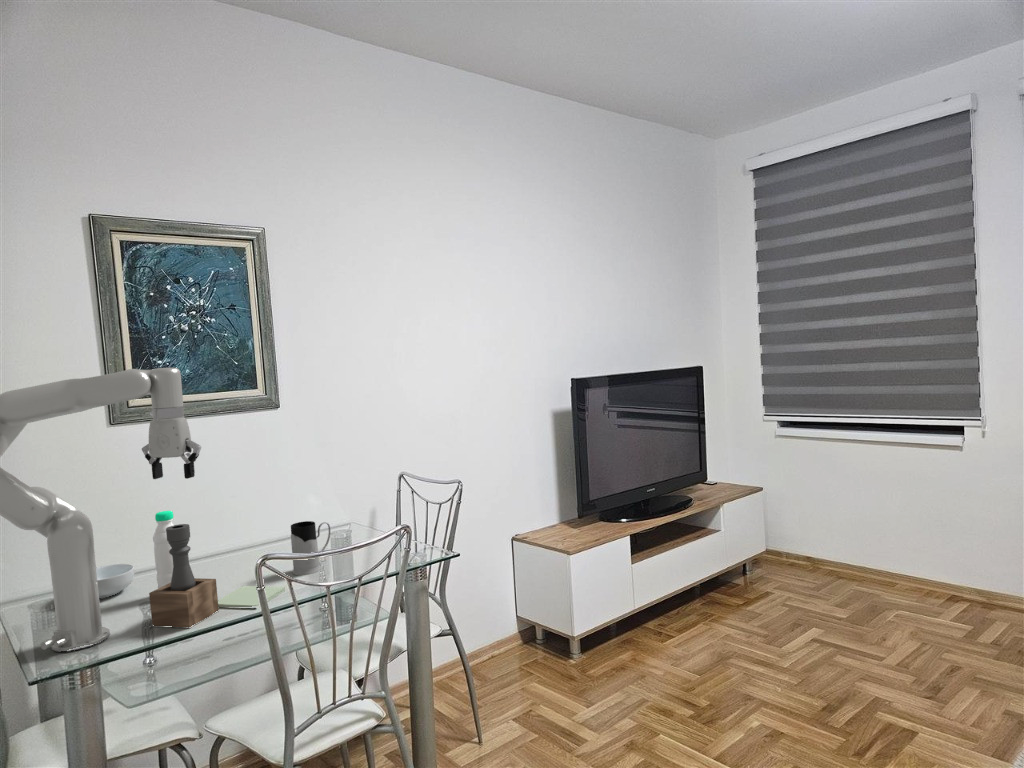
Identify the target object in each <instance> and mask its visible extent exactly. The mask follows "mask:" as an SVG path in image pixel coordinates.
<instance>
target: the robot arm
mask: <svg viewBox="0 0 1024 768" xmlns="http://www.w3.org/2000/svg"><path fill="white" fill-rule="evenodd" d="M149 395H150V399H151V402H150V403H151V409H152V410H150V411H149V416H152V420H150V421H149V427H148V444H146V445H144V446H143V447H142V448H141V451H142V453H143V455H144V458H145V459H146V460H147V461H148V464H149V465H150V466H151V474H152V479H153V480H158V479H162V478H163V477H164V472H163V462H162V459H163V458H166V459H169V458H179V457H180V458H181V459H182V460H183V461H184V462H185V463H183V474H184V479H191V478H195V473H196V471H195V462H197V459H198V458H199V456H200V454H201V453H200V452H201V450H202V446H201V445H200V444H198V443H196V442H194V440H192V438H191V437H192V436H191V430H190V427H189V423H188V419H187V418H185V409H184V397H183V385H182V374H181V371H180V369H179V368H177V367H159V368H158V367H157V368H152V369H139V368H129V369H126V370H122V371H117V372H113V373H112V372H111V373H107V374H101V375H96V376H91V377H85V378H69V379H63V380H58V381H52V382H48V383H47V382H46V383H43V384H39V385H34V386H28V387H22V388H17V389H13V390H8V391H5V392H2V393H0V458H1V457H2V456H3V455H4V454H5V452H6V451H7V450H8V448H9V447H10V446H11V445H12V444H13V442H14V441H15V440H16V439H17V438H18V437H19V435H20V433H21V432H22V431H23V430H24V429H25V428H26V426H27V425H28V424H30V423H34V422H39V421H40V422H41V421H43V420H48V419H53V418H57V417H62V416H67V415H72V414H76V413H81V412H85V411H88V410H92V409H95V408H99V407H105V406H109V405H114V404H118V403H119V404H120V403H123V402H128V401H132V400H136V399H141V398H143V397H145V396H149ZM160 461H161V462H160ZM0 516H1V517H2V518H3V519H5V520H7V521H8V522H10V523H11V524H13V526H15V527H17V528H18V529H21V530H24V531H25V530H26V531H35V532H37V533H39V534H40V535H42V536H43V537H45V538H47V541H46V544H47V552H48V554H47V555H48V560H49V566H50V576H51V585H52V592H53V593H52V594H53V603H54V613H55V620H56V622H55V623H56V630H54V631H53V635H52V636H51V637H50V638H49V639H46V640H44V641H42V642H41V643H40V649H41V650H42V651H43V650H44V651H45V650H48V649H49V648H51V649H52V651H55V652H58V653H59V652H61V651H67V650H69V649H73V648H76V647H80V646H84V645H90V644H95V643H98V642H100V641H102V642H104V641H105V640H107V639H108V638H109V637H110V635H111V632H110V631H111V630H110V628H108V627H106V626H103V622H102V613H101V612H102V611H101V603H100V599H99V592H98V582H97V572H96V567H97V565H96V555H95V553H96V552H95V539H94V530H93V524H92V522H91V520H90V518H89V517H88V516H87V515H86V514H85V513H84V512H82V511H80V510H79V509H78V508H76V507H74V506H73V505H71V504H70V503H68V502H67V501H66V500H64V499H63V498H61V497H59V496H58V495H57V494H55V493H54V492H52V491H51V490H48V489H46V488H44V487H40V486H30V485H28V484H26V483H25V482H23V481H21V480H20V479H18V477H16V475H14V474H12V473H10V472H8V471H6V470H4V468H2V467H1V466H0ZM107 637H108V638H107ZM106 638H107V639H106ZM104 639H105V640H104ZM103 640H104V641H103ZM100 643H101V642H100ZM98 644H99V643H98ZM67 652H68V651H67ZM61 653H62V652H61Z"/></svg>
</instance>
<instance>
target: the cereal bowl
mask: <svg viewBox="0 0 1024 768" xmlns="http://www.w3.org/2000/svg"><path fill="white" fill-rule="evenodd" d="M96 572H97V582H98V592H99V598H102V599H106V598H105V597H107V598H110V597H109V596H111V597H113V596H112V595H114V596H116V595H118V594H119V593H120V592H121V591H122V590H124V589H126V588H128V587H129V586H130V585H131V584H132V582H133V581H134V577H135V566H134V565H133V564H130V563H128V564H127V563H118V564H117V563H115V564H108V565H102V566H96ZM117 593H118V594H117ZM115 594H116V595H115Z"/></svg>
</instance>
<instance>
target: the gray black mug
mask: <svg viewBox="0 0 1024 768" xmlns="http://www.w3.org/2000/svg"><path fill="white" fill-rule="evenodd" d="M324 524H326V525H327V527H328V534H327V535H328V536H327V539H326V543H325V544H324V546H323V548H322V549H321V551H323V552H324V551H325V549H326V548H327V546H328V544H329V542H330V538H331V526H330V524H329V523H328V522H325V521H324V522H321V523H320V524H319V525H318V526H317V527H318V528H317V527H316V522H315V521H310V520H309V521H307V520H306V521H299V522H295V523H293V524H290V541H291V542H290V543H291V553H311V552H318V553H319V548H318V538H319V537H320V535H321V531H320V530H321V527H322V525H324ZM316 528H317V531H316ZM321 551H320V552H321ZM319 558H320V557H319ZM319 558H315V559H308V560H293V559H292V565H293V567H292V568H293V569H292V575H295V576H306V575H307V576H308V575H312V574H315V573H318V572H320V571H321V566H320V559H319Z"/></svg>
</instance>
